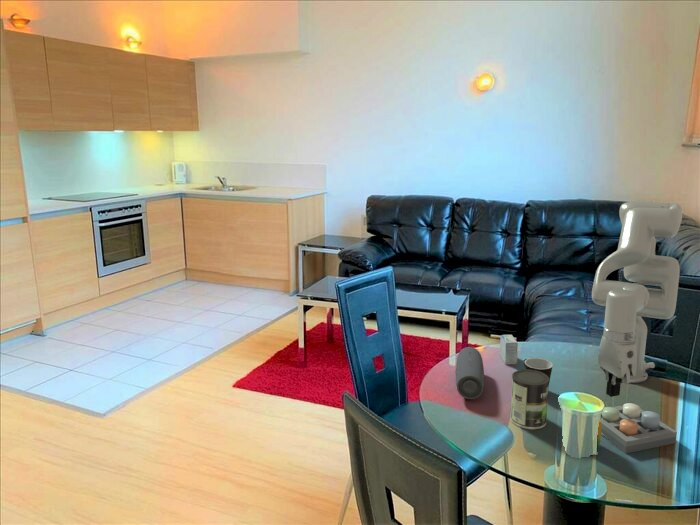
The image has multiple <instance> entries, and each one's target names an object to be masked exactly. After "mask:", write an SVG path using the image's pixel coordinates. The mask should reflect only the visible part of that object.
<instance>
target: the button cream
mask: <svg viewBox="0 0 700 525" xmlns="http://www.w3.org/2000/svg"><path fill="white" fill-rule="evenodd" d="M622 405H623V415H625V416H626V417H628V418H629V419H635V418H640V410H641V409H642V408H641V406H639V405H638V404H636V403H631V402H627V403H624V404H622Z"/></svg>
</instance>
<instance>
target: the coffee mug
mask: <svg viewBox="0 0 700 525" xmlns="http://www.w3.org/2000/svg"><path fill="white" fill-rule="evenodd" d="M523 365H524V369H529V370H536V371H540V372H542V373H544V374H546V375H547V376H548V377H549V379H550V380H551V378H552V377H551V376H552V371H553V367H554V365H553V362H551V361H550V360H548V359H545V358H540V357H530V358H525V359H524V360H523ZM550 380H549V383H550Z"/></svg>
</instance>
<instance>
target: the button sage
mask: <svg viewBox="0 0 700 525" xmlns="http://www.w3.org/2000/svg"><path fill="white" fill-rule="evenodd" d="M613 407H614V406H605V407H603V408H604V409H603V408H602V409H603V412H602V418H603V419H604V420H605V421H607V422H608V423H613V422H618V421H619V414H620V412H619V410H618V409H616V408H613Z"/></svg>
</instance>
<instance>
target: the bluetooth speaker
mask: <svg viewBox="0 0 700 525" xmlns="http://www.w3.org/2000/svg"><path fill="white" fill-rule="evenodd" d="M454 372H455V387H456V390H457V392H458V394H459V395H460V396H461V397H462V398H463V399H467V400H476V399H479V397H481V395H482V394H483V392H484V389H485V368H484V362H483V358H482V354H481V352H480V351H479V350H478V349H476V347H472V346H467V347H466V346H465V347H463V348H462V349H460V351H459V352H458V355H457V357H456V365H455V371H454Z"/></svg>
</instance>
